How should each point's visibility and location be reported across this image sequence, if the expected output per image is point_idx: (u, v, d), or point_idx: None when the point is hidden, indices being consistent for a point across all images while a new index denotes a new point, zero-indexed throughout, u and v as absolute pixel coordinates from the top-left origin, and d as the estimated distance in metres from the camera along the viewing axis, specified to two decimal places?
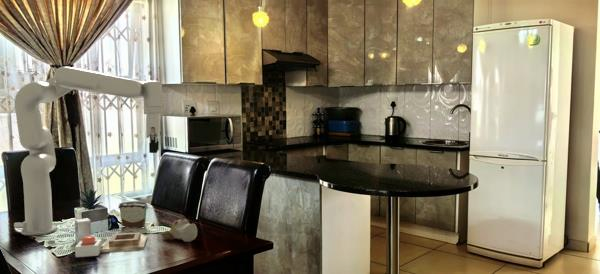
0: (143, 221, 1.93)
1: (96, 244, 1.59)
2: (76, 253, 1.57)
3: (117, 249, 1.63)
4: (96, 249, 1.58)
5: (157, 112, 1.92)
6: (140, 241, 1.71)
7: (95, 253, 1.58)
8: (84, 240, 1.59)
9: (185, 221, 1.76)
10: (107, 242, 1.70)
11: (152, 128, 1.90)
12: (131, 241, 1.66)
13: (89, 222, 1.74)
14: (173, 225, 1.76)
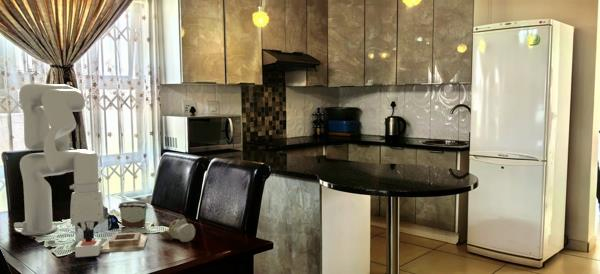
0: (143, 221, 1.93)
1: (96, 244, 1.59)
2: (76, 253, 1.57)
3: (117, 249, 1.63)
4: (96, 249, 1.58)
5: None
6: (140, 241, 1.71)
7: (95, 253, 1.58)
8: (84, 243, 1.59)
9: (183, 221, 1.75)
10: (107, 242, 1.70)
11: None
12: (131, 241, 1.66)
13: (89, 222, 1.74)
14: (171, 225, 1.76)
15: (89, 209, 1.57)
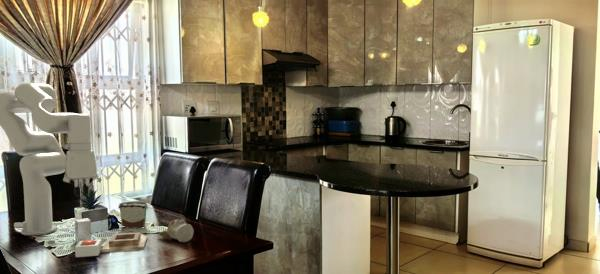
0: (143, 221, 1.93)
1: (96, 244, 1.59)
2: (76, 253, 1.57)
3: (117, 249, 1.63)
4: (96, 249, 1.58)
5: None
6: (140, 241, 1.71)
7: (95, 253, 1.58)
8: (84, 244, 1.59)
9: (181, 221, 1.75)
10: (107, 242, 1.70)
11: None
12: (131, 241, 1.66)
13: (89, 222, 1.74)
14: (170, 225, 1.76)
15: (85, 166, 1.72)
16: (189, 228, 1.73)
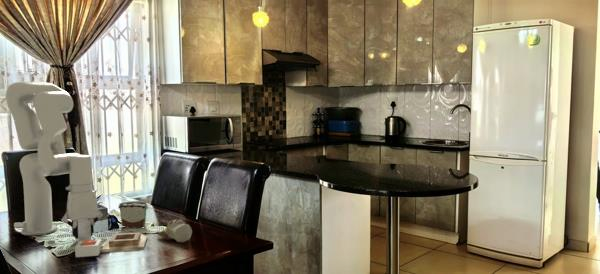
0: (143, 221, 1.93)
1: (96, 244, 1.59)
2: (76, 253, 1.57)
3: (117, 249, 1.63)
4: (96, 249, 1.58)
5: None
6: (140, 241, 1.71)
7: (95, 253, 1.58)
8: (84, 244, 1.59)
9: (179, 221, 1.75)
10: (107, 242, 1.70)
11: None
12: (131, 241, 1.66)
13: (89, 222, 1.74)
14: (168, 225, 1.76)
15: (87, 207, 1.73)
16: (187, 228, 1.72)
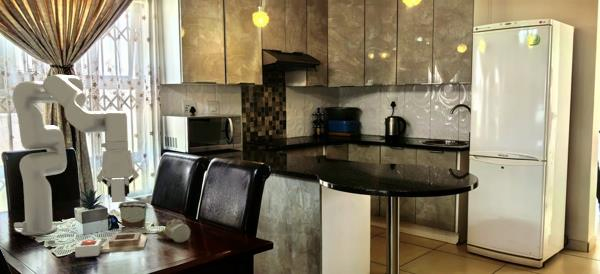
0: (143, 221, 1.93)
1: (96, 244, 1.59)
2: (76, 253, 1.57)
3: (117, 249, 1.63)
4: (96, 249, 1.58)
5: None
6: (140, 241, 1.71)
7: (95, 253, 1.58)
8: (84, 244, 1.59)
9: (178, 221, 1.75)
10: (107, 242, 1.70)
11: (132, 167, 1.70)
12: (131, 241, 1.66)
13: (123, 181, 1.68)
14: (167, 225, 1.76)
15: (120, 166, 1.66)
16: (185, 228, 1.72)
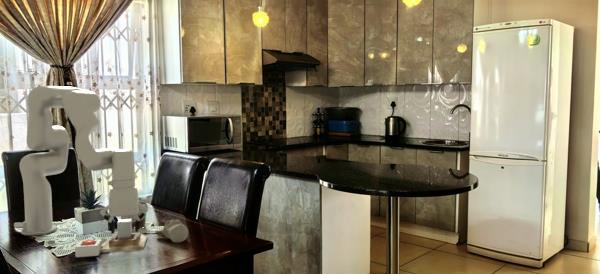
0: (143, 221, 1.93)
1: (96, 244, 1.59)
2: (76, 253, 1.57)
3: (117, 249, 1.63)
4: (96, 249, 1.58)
5: None
6: (140, 241, 1.71)
7: (95, 253, 1.58)
8: (84, 244, 1.59)
9: (176, 221, 1.75)
10: (107, 242, 1.70)
11: (139, 203, 1.70)
12: (131, 241, 1.66)
13: (129, 223, 1.68)
14: (165, 225, 1.77)
15: (126, 204, 1.67)
16: (182, 229, 1.72)
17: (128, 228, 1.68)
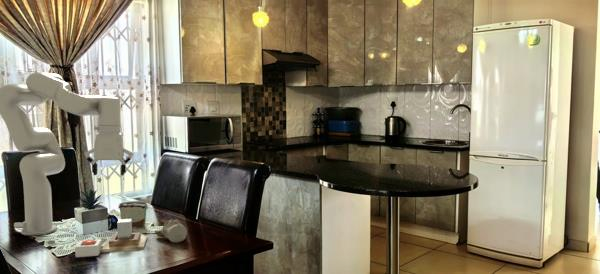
0: (143, 221, 1.93)
1: (96, 244, 1.59)
2: (76, 253, 1.57)
3: (117, 249, 1.63)
4: (96, 249, 1.58)
5: None
6: (140, 241, 1.71)
7: (95, 253, 1.58)
8: (84, 244, 1.59)
9: (175, 221, 1.75)
10: (107, 242, 1.70)
11: None
12: (131, 241, 1.66)
13: (129, 223, 1.68)
14: (164, 225, 1.77)
15: (111, 149, 1.74)
16: (181, 229, 1.72)
17: (128, 228, 1.68)
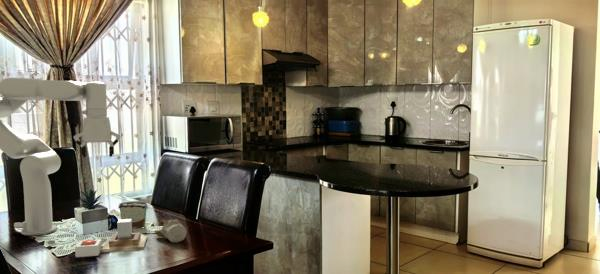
0: (143, 221, 1.93)
1: (96, 244, 1.59)
2: (76, 253, 1.57)
3: (117, 249, 1.63)
4: (96, 249, 1.58)
5: None
6: (140, 241, 1.71)
7: (95, 253, 1.58)
8: (84, 244, 1.59)
9: (174, 221, 1.75)
10: (107, 242, 1.70)
11: (111, 131, 1.86)
12: (131, 241, 1.66)
13: (129, 223, 1.68)
14: (164, 224, 1.77)
15: (99, 131, 1.83)
16: (180, 229, 1.72)
17: (128, 228, 1.68)
